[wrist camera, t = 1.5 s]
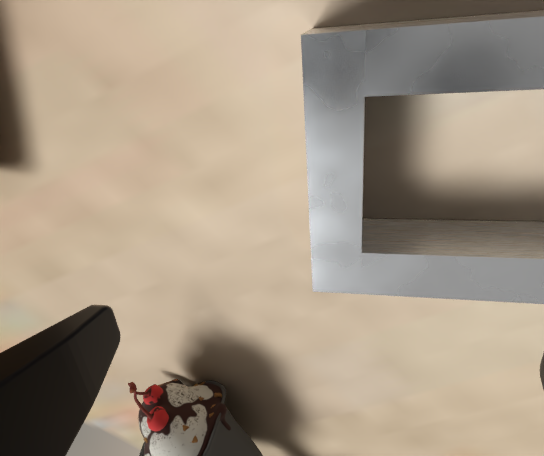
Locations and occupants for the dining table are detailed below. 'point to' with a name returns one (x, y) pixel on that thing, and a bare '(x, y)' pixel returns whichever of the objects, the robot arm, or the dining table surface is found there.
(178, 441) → the sundae
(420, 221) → the steel link
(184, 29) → the dining table surface
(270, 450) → the dining table surface
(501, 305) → the dining table surface
